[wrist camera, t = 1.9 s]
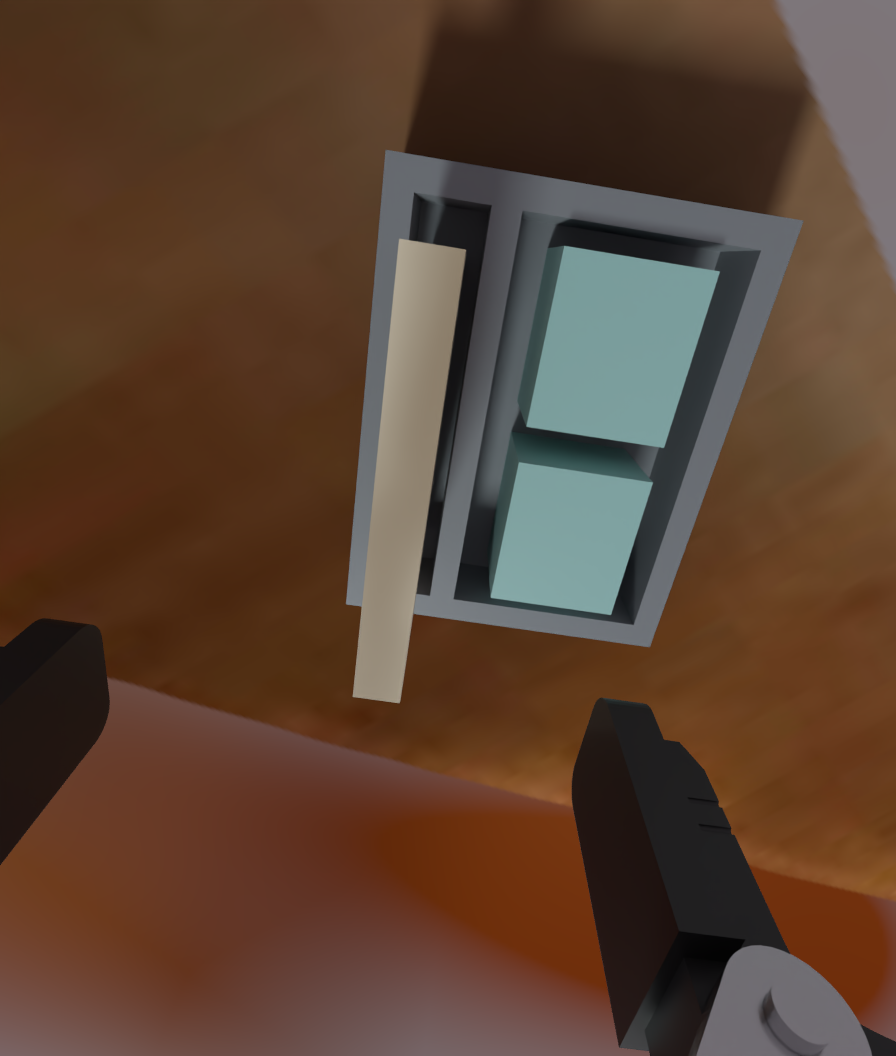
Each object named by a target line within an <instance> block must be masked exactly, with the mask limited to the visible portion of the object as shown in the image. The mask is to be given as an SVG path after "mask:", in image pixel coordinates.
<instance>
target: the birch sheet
mask: <svg viewBox="0 0 896 1056" xmlns="http://www.w3.org/2000/svg"><path fill="white" fill-rule="evenodd" d="M465 259H466V250H465V249H459V248H453V247H447V246H441V245H435V244H429V243H423V242H417V241H411V240H405V239H399V245H398V255H397V265H396V275H395V284H394V294H393V304H392V314H391V324H390V334H389V344H388V354H387V364H386V374H385V384H384V393H383V403H382V413H381V423H380V433H379V443H378V453H377V463H376V473H375V483H374V492H373V502H372V512H371V522H370V532H369V542H368V552H367V562H366V572H365V582H364V592H363V601H362V611H361V621H360V631H359V641H358V651H357V661H356V671H355V681H354V691H353V697H358V698H366V699H373V700H380V701H388V702H395V703H400V699H401V692H402V686H403V679H404V672H405V666H406V659H407V652H408V646H409V639H410V632H411V626H412V619H413V613H414V606H415V599H416V593H417V586H418V579H419V573H420V566H421V559H422V553H423V546H424V539H425V533H426V526H427V519H428V512H429V506H430V499H431V492H432V485H433V478H434V471H435V465H436V458H437V451H438V444H439V437H440V430H441V424H442V417H443V410H444V403H445V396H446V389H447V382H448V376H449V369H450V362H451V355H452V348H453V341H454V335H455V328H456V321H457V314H458V307H459V300H460V294H461V287H462V280H463V273H464V266H465Z"/></svg>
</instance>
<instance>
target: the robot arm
mask: <svg viewBox="0 0 896 1056" xmlns="http://www.w3.org/2000/svg"><path fill="white" fill-rule="evenodd" d="M109 703H110V700H109V691H108V683H107V675H106V667H105V659H104V650H103V642H102V636H101V633H100V630H99V629H98V628H97V627H96V626H94V625H90V624H83V623H75V622H68V621H61V620H54V619H46V618H43V619H39V620H37V621H35V622H34V623H32V624H31V625H30V626H29V627H27V628H26V629H25V630H24V631H23V632H21V633H20V634H19V635H18V636H17V637H15V638H14V639H13V640H12V641H11V642H9V643H8V644H7V645H6V646H5V647H0V865H1V863H2V862H3V861H4V860H5V858H6V857H7V856H8V854H9V853H10V852H11V851H12V849H13V848H14V847H15V845H16V844H17V843H18V842H19V840H20V839H21V838H22V836H23V835H24V834H25V833H26V831H27V830H28V829H29V827H30V826H31V825H32V824H33V822H34V821H35V820H36V818H37V817H38V816H39V815H40V813H41V812H42V811H43V809H44V808H45V807H46V806H47V804H48V803H49V802H50V800H51V799H52V798H53V797H54V795H55V794H56V793H57V791H58V790H59V789H60V788H61V786H62V785H63V784H64V782H65V781H66V779H68V777H69V776H70V774H71V773H72V772H73V771H74V770H75V768H76V767H77V766H78V764H79V763H80V762H81V760H82V759H83V758H84V757H85V755H86V754H87V753H88V751H89V750H90V749H91V748H92V746H93V745H94V744H95V742H96V741H97V740H98V738H99V736H100V735H101V733H102V731H103V728H104V726H105V723H106V720H107V717H108V713H109V705H110V704H109ZM718 803H719V801H718V799H717V796H716V794H715V792H714V790H713V788H712V786H711V783H710V781H709V779H708V777H707V775H706V773H705V771H704V769H703V768H702V767H701V766H700V765H699V764H698V763H697V761H696V760H695V759H694V758H693V757H692V756H691V755H690V754H689V752H688V751H687V750H686V749H685V748H684V747H683V746H682V745H681V744H680V742H675V741H668V740H664V739H663V736H662V734H661V732H660V729H659V727H658V724H657V722H656V719H655V717H654V714H653V712H652V710H651V708H650V707H649V706H648V705H647V704H643V703H635V702H628V701H621V700H614V699H607V698H599V699H598V700H597V702H596V703H595V705H594V708H593V711H592V714H591V717H590V720H589V723H588V726H587V729H586V732H585V735H584V738H583V741H582V745H581V748H580V751H579V754H578V757H577V760H576V763H575V766H574V771H573V778H572V804H573V810H574V815H575V820H576V825H577V831H578V836H579V841H580V847H581V852H582V856H583V862H584V867H585V872H586V878H587V882H588V888H589V893H590V899H591V904H592V909H593V914H594V919H595V925H596V930H597V935H598V940H599V945H600V951H601V956H602V961H603V966H604V971H605V976H606V981H607V987H608V992H609V997H610V1003H611V1008H612V1013H613V1018H614V1023H615V1029H616V1034H617V1039H618V1044H619V1047H620V1048H627V1049H636V1050H644V1051H649V1053H650V1056H896V1042H895V1041H893V1040H891V1039H889V1038H886V1037H884V1036H882V1035H880V1034H878V1033H876V1032H874V1031H872V1030H870V1029H868V1028H866V1027H864V1026H863V1025H861V1024H860V1023H859V1022H858V1020H857V1018H856V1017H855V1015H854V1013H853V1012H852V1010H851V1009H850V1007H849V1006H848V1005H847V1003H846V1002H845V1001H844V1000H843V998H842V997H841V995H840V994H839V993H838V992H837V991H836V990H835V989H834V988H833V987H832V985H831V984H830V983H828V981H826V980H825V979H824V978H823V977H822V976H821V975H820V974H819V973H818V972H816V971H815V970H814V969H813V968H811V967H810V966H809V965H807V964H806V963H804V962H802V961H801V960H799V959H798V958H796V957H795V956H792V955H791V954H790V952H789V950H788V948H787V946H786V945H785V943H784V941H783V938H782V936H781V934H780V932H779V930H778V928H777V926H776V923H775V921H774V919H773V917H772V915H771V913H770V910H769V908H768V906H767V904H766V902H765V900H764V898H763V895H762V893H761V891H760V889H759V887H758V885H757V883H756V880H755V878H754V876H753V874H752V872H751V870H750V868H749V865H748V863H747V861H746V859H745V857H744V854H743V852H742V850H741V848H740V846H739V844H738V842H737V839H736V837H735V835H732V834H731V826H730V824H729V822H728V820H727V818H726V816H725V814H724V811H723V809H722V808H720V807H719V805H718Z"/></svg>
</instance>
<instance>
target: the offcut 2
mask: <svg viewBox="0 0 896 1056" xmlns="http://www.w3.org/2000/svg"><path fill="white" fill-rule="evenodd" d="M652 484H653V482H652V481H651V480H650V478H649V477H648V476H647V475H646V474H645V473H644V471H643V470H642V469H641V468H640V467H639V465H638V464H637V463H636V462H635V461H634V459H633V458H632V457H631V456H630V455H629V453H628V452H627V451H626V450H625V449H621V448H615V447H608V446H602V445H595V444H589V443H582V442H576V441H569V440H563V439H556V438H549V437H543V436H536V435H530V434H523V433H517V432H511V434H510V439H509V444H508V449H507V454H506V459H505V464H504V469H503V474H502V479H501V484H500V489H499V494H498V499H497V504H496V509H495V514H494V519H493V524H492V529H491V534H490V539H489V544H488V550H487V555H488V570H489V584H490V598H496V599H503V600H510V601H517V602H524V603H531V604H538V605H545V606H552V607H559V608H566V609H573V610H579V611H586V612H593V613H600V614H607V615H611V613H612V610H613V607H614V604H615V601H616V598H617V594H618V591H619V588H620V585H621V582H622V579H623V575H624V572H625V569H626V566H627V563H628V560H629V557H630V553H631V550H632V547H633V544H634V541H635V538H636V535H637V531H638V528H639V525H640V522H641V519H642V516H643V512H644V509H645V506H646V503H647V500H648V497H649V494H650V490H651V487H652Z"/></svg>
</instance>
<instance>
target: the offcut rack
mask: <svg viewBox="0 0 896 1056" xmlns="http://www.w3.org/2000/svg"><path fill="white" fill-rule="evenodd" d="M802 224H803V221H802V220H796V219H790V218H784V217H778V216H772V215H766V214H760V213H755V212H749V211H743V210H737V209H731V208H725V207H719V206H713V205H707V204H702V203H696V202H690V201H684V200H678V199H672V198H666V197H660V196H654V195H649V194H643V193H637V192H631V191H625V190H619V189H613V188H607V187H601V186H596V185H590V184H584V183H578V182H572V181H566V180H560V179H554V178H548V177H543V176H537V175H531V174H525V173H519V172H513V171H507V170H501V169H495V168H490V167H484V166H478V165H472V164H466V163H460V162H454V161H448V160H442V159H437V158H431V157H425V156H419V155H413V154H407V153H401V152H395V151H389V150H386V153H385V164H384V176H383V187H382V199H381V210H380V222H379V233H378V245H377V256H376V268H375V279H374V290H373V302H372V313H371V325H370V336H369V348H368V359H367V371H366V382H365V394H364V405H363V417H362V428H361V440H360V451H359V463H358V474H357V486H356V497H355V508H354V520H353V531H352V543H351V554H350V566H349V577H348V589H347V600H346V604H348V605H355V606H362V601H363V592H364V582H365V572H366V562H367V552H368V542H369V532H370V522H371V512H372V502H373V492H374V483H375V473H376V463H377V453H378V443H379V433H380V423H381V413H382V403H383V393H384V384H385V374H386V364H387V354H388V344H389V334H390V324H391V314H392V304H393V294H394V284H395V275H396V265H397V255H398V245H399V239H405V240H411V241H417V242H423V243H429V244H435V245H441V246H447V247H453V248H459V249H465V250H466V259H465V266H464V273H463V280H462V287H461V294H460V300H459V307H458V314H457V321H456V328H455V335H454V341H453V348H452V355H451V362H450V369H449V376H448V382H447V389H446V396H445V403H444V410H443V417H442V424H441V430H440V437H439V444H438V451H437V458H436V465H435V471H434V478H433V485H432V492H431V499H430V506H429V512H428V519H427V526H426V533H425V539H424V546H423V553H422V559H421V566H420V573H419V579H418V586H417V593H416V599H415V606H414V613H413V614H419V615H426V616H433V617H440V618H447V619H454V620H461V621H468V622H476V623H483V624H490V625H497V626H504V627H511V628H518V629H525V630H532V631H539V632H546V633H553V634H560V635H567V636H575V637H582V638H589V639H596V640H603V641H610V642H617V643H624V644H631V645H638V646H645V647H650V645H651V642H652V639H653V637H654V634H655V631H656V628H657V625H658V623H659V620H660V617H661V614H662V612H663V609H664V606H665V603H666V601H667V598H668V595H669V592H670V589H671V587H672V584H673V581H674V578H675V576H676V573H677V570H678V567H679V564H680V562H681V559H682V556H683V553H684V551H685V548H686V545H687V542H688V540H689V537H690V534H691V531H692V528H693V526H694V523H695V520H696V517H697V515H698V512H699V509H700V506H701V504H702V501H703V498H704V495H705V492H706V490H707V487H708V484H709V481H710V479H711V476H712V473H713V470H714V467H715V465H716V462H717V459H718V456H719V454H720V451H721V448H722V445H723V443H724V440H725V437H726V434H727V431H728V429H729V426H730V423H731V420H732V418H733V415H734V412H735V409H736V407H737V404H738V401H739V398H740V395H741V393H742V390H743V387H744V384H745V382H746V379H747V376H748V373H749V371H750V368H751V365H752V362H753V359H754V357H755V354H756V351H757V348H758V346H759V343H760V340H761V337H762V334H763V332H764V329H765V326H766V323H767V321H768V318H769V315H770V312H771V310H772V307H773V304H774V301H775V298H776V296H777V293H778V290H779V287H780V285H781V282H782V279H783V276H784V274H785V271H786V268H787V265H788V262H789V260H790V257H791V254H792V251H793V249H794V246H795V243H796V240H797V237H798V235H799V232H800V229H801V226H802ZM560 246H569V247H575V248H581V249H587V250H593V251H599V252H605V253H611V254H617V255H623V256H629V257H635V258H641V259H647V260H653V261H659V262H665V263H671V264H677V265H683V266H689V267H695V268H701V269H707V270H713V271H719V272H720V273H719V276H718V279H717V282H716V286H715V289H714V292H713V295H712V298H711V301H710V304H709V308H708V311H707V314H706V317H705V320H704V323H703V327H702V330H701V333H700V336H699V339H698V342H697V345H696V349H695V352H694V355H693V358H692V361H691V364H690V368H689V371H688V374H687V377H686V380H685V383H684V386H683V390H682V393H681V396H680V399H679V402H678V405H677V408H676V412H675V415H674V418H673V421H672V424H671V427H670V431H669V434H668V437H667V440H666V443H665V446H664V448H661V447H654V446H648V445H641V444H635V443H628V442H622V441H615V440H609V439H603V438H596V437H590V436H583V435H577V434H570V433H564V432H557V431H551V430H544V429H538V428H531V427H526V424H525V422H524V419H523V416H522V413H521V410H520V408H519V405H518V402H517V399H518V394H519V389H520V384H521V379H522V374H523V369H524V364H525V359H526V354H527V349H528V344H529V339H530V334H531V329H532V324H533V318H534V313H535V308H536V303H537V298H538V293H539V288H540V283H541V278H542V273H543V268H544V263H545V258H546V253H547V248H553V247H560ZM511 432H517V433H523V434H530V435H536V436H543V437H549V438H556V439H563V440H569V441H576V442H582V443H589V444H595V445H602V446H608V447H615V448H621V449H625V450H626V451H627V452H628V453H629V455H630V456H631V457H632V458H633V459H634V461H635V462H636V463H637V464H638V465H639V467H640V468H641V469H642V470H643V471H644V473H645V474H646V475H647V476H648V477H649V478H650V480H651V481H652V482H653V484H652V487H651V490H650V494H649V497H648V500H647V503H646V506H645V509H644V512H643V516H642V519H641V522H640V525H639V528H638V531H637V535H636V538H635V541H634V544H633V547H632V550H631V553H630V557H629V560H628V563H627V566H626V569H625V572H624V575H623V579H622V582H621V585H620V588H619V591H618V594H617V598H616V601H615V604H614V607H613V610H612V613H611V615H607V614H600V613H593V612H586V611H579V610H573V609H566V608H559V607H552V606H545V605H538V604H531V603H524V602H517V601H510V600H503V599H496V598H490V584H489V570H488V555H487V550H488V544H489V539H490V534H491V529H492V524H493V519H494V514H495V509H496V504H497V499H498V494H499V489H500V484H501V479H502V474H503V469H504V464H505V459H506V454H507V449H508V444H509V439H510V434H511Z"/></svg>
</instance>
